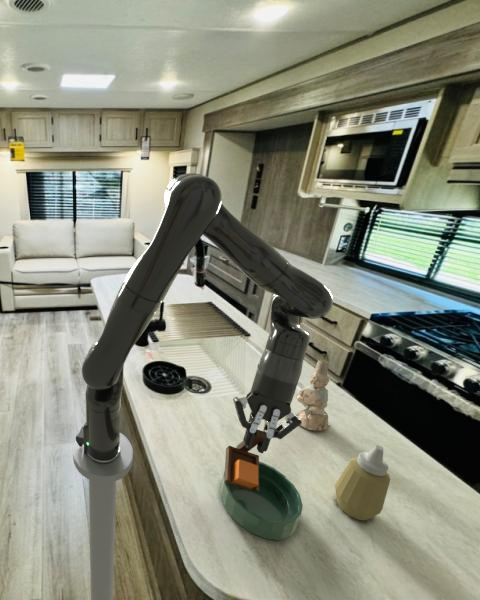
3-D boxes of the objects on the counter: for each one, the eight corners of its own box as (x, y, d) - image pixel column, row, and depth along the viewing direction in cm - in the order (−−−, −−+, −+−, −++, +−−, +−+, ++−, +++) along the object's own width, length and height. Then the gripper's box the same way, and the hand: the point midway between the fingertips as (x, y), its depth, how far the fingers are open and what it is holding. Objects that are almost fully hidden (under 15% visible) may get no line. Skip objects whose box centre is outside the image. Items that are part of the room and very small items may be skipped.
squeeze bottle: (325, 486, 75) (347, 428, 68) (367, 497, 72) (394, 438, 66) (337, 518, 68) (363, 457, 61) (384, 532, 65) (416, 470, 59)
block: (232, 463, 72) (239, 458, 69) (251, 470, 72) (258, 465, 69) (232, 481, 70) (238, 477, 67) (251, 488, 69) (258, 485, 66)
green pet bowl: (221, 524, 67) (224, 507, 65) (220, 467, 80) (223, 451, 78) (303, 553, 62) (310, 535, 60) (288, 487, 75) (293, 470, 73)
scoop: (226, 442, 76) (244, 425, 67) (255, 452, 75) (278, 435, 66) (224, 481, 71) (243, 468, 62) (255, 493, 69) (280, 481, 60)
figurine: (306, 409, 99) (323, 356, 92) (334, 428, 92) (355, 371, 84) (286, 417, 96) (302, 362, 89) (314, 437, 89) (334, 379, 81)
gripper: (246, 369, 64) (223, 446, 66) (322, 390, 60) (295, 471, 62) (238, 360, 71) (217, 430, 73) (305, 379, 68) (282, 451, 70)
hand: (253, 448), depth 68 cm, fingers closed on scoop
